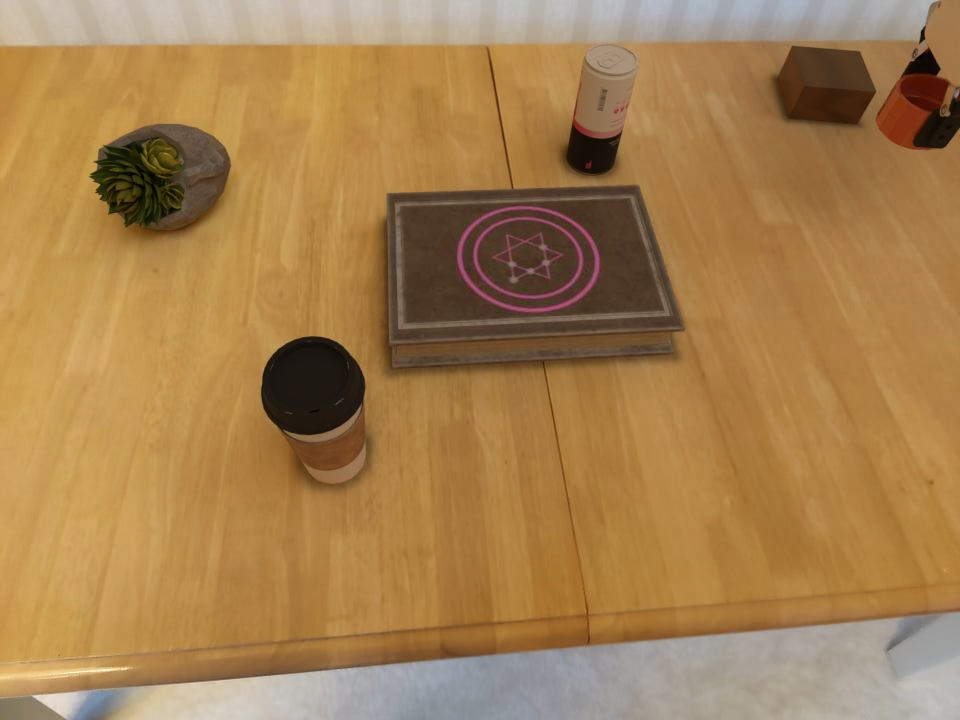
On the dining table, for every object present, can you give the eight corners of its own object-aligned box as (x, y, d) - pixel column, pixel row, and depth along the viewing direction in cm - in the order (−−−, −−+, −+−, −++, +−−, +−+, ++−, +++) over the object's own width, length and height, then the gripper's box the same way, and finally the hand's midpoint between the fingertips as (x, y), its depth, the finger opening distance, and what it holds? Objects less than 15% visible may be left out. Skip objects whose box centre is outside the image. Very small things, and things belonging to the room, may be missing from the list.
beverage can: (556, 160, 91) (572, 56, 78) (586, 138, 93) (607, 35, 81) (593, 184, 88) (616, 81, 76) (623, 161, 91) (651, 59, 78)
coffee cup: (297, 506, 62) (258, 430, 50) (287, 428, 66) (249, 340, 54) (386, 485, 63) (370, 405, 51) (370, 410, 68) (352, 320, 56)
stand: (842, 84, 103) (860, 50, 98) (856, 125, 97) (876, 91, 93) (776, 79, 103) (791, 45, 98) (787, 119, 97) (804, 85, 93)
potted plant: (257, 170, 82) (192, 228, 71) (196, 217, 89) (128, 276, 77) (182, 84, 77) (100, 131, 66) (124, 140, 84) (40, 192, 72)
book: (392, 370, 71) (388, 343, 67) (389, 220, 83) (386, 189, 79) (672, 355, 73) (685, 327, 69) (629, 211, 85) (638, 181, 81)
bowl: (932, 113, 73) (958, 75, 69) (953, 156, 69) (982, 119, 65) (865, 108, 73) (888, 70, 69) (883, 151, 69) (907, 114, 65)
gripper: (1134, -4, 50) (980, 180, 65) (1042, -106, 60) (927, 74, 74) (1033, -11, 50) (903, 174, 65) (958, -111, 60) (859, 70, 75)
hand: (916, 120), depth 70 cm, fingers closed on bowl, 7 cm apart
